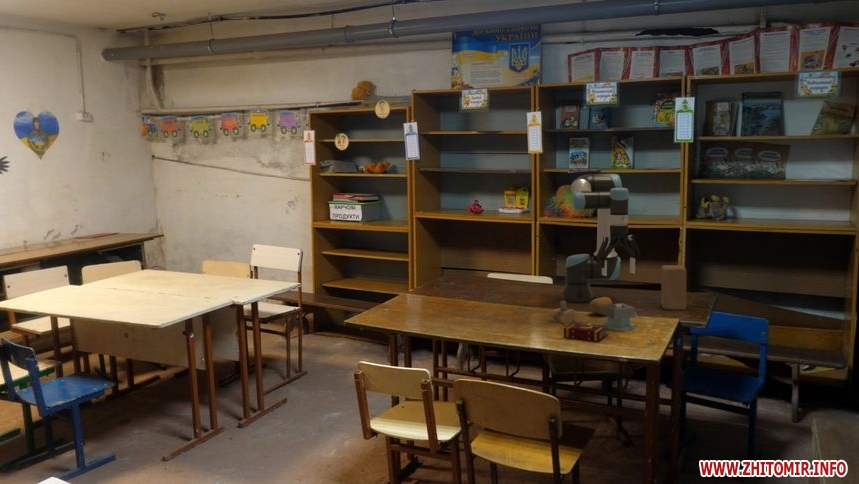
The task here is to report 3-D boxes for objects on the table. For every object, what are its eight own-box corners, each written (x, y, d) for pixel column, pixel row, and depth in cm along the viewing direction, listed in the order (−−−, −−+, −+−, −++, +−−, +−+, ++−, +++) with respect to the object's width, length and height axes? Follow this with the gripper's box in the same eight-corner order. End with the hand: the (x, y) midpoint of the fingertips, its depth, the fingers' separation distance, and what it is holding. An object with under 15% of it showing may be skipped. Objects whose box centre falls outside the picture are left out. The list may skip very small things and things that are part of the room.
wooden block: (686, 310, 310) (686, 268, 308) (663, 309, 312) (664, 268, 310) (682, 305, 320) (683, 265, 317) (660, 305, 322) (661, 264, 319)
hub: (600, 327, 283) (600, 304, 282) (613, 322, 291) (613, 300, 289) (623, 331, 275) (623, 308, 274) (636, 326, 283) (637, 303, 282)
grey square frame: (602, 314, 286) (602, 305, 285) (622, 312, 288) (622, 303, 288) (614, 319, 276) (614, 309, 276) (635, 317, 279) (635, 307, 278)
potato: (617, 312, 309) (617, 296, 308) (604, 318, 298) (604, 301, 297) (598, 310, 315) (598, 293, 314) (584, 315, 305) (584, 298, 304)
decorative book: (599, 343, 260) (599, 330, 260) (560, 338, 269) (560, 326, 268) (608, 336, 270) (608, 324, 269) (570, 331, 278) (570, 320, 278)
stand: (552, 321, 296) (552, 301, 295) (561, 318, 301) (561, 299, 300) (565, 323, 291) (565, 303, 290) (574, 320, 296) (574, 301, 295)
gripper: (597, 227, 271) (597, 277, 274) (649, 223, 278) (649, 273, 281) (588, 225, 279) (587, 274, 281) (639, 222, 285) (638, 270, 288)
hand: (618, 274), depth 281 cm, fingers open, 13 cm apart
